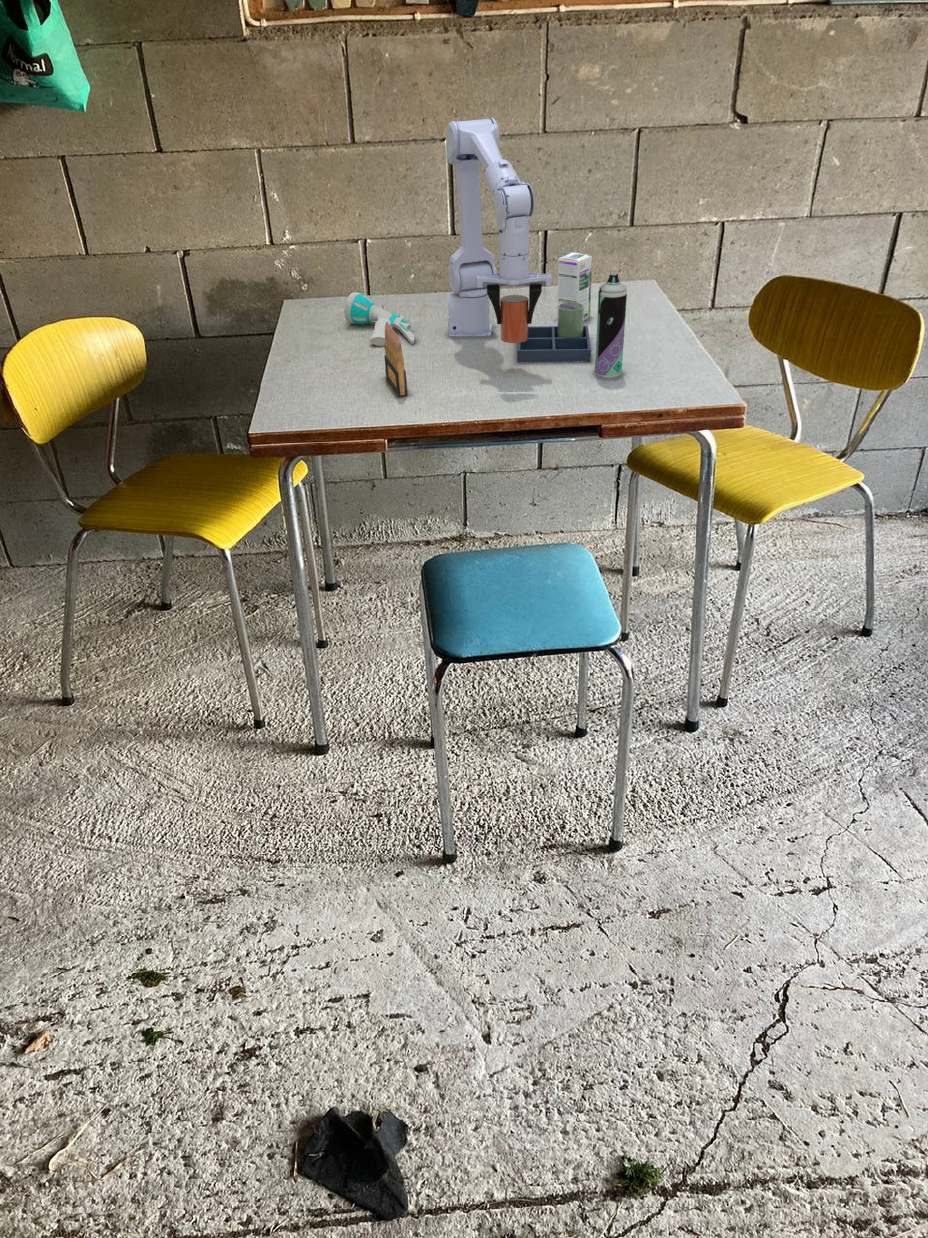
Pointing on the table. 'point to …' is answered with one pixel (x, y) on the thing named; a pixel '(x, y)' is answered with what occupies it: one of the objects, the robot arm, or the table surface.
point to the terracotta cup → (514, 318)
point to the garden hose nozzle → (375, 318)
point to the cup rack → (553, 346)
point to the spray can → (610, 327)
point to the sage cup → (570, 320)
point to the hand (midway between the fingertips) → (514, 322)
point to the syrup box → (575, 280)
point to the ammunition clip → (394, 362)
